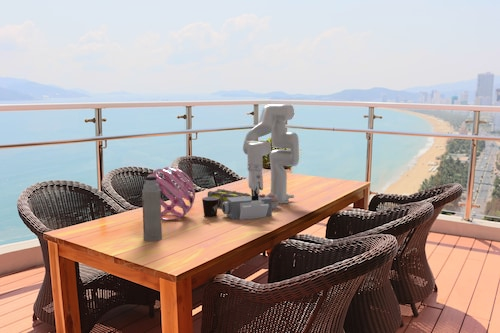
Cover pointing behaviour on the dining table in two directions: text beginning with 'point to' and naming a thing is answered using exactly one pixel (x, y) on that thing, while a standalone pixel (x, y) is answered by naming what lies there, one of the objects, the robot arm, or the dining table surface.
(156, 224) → the thermos bottle
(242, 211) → the side door
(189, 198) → the spiral basket
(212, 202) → the coffee mug
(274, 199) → the cupcake
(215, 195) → the cage light
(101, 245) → the dining table surface
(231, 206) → the block
